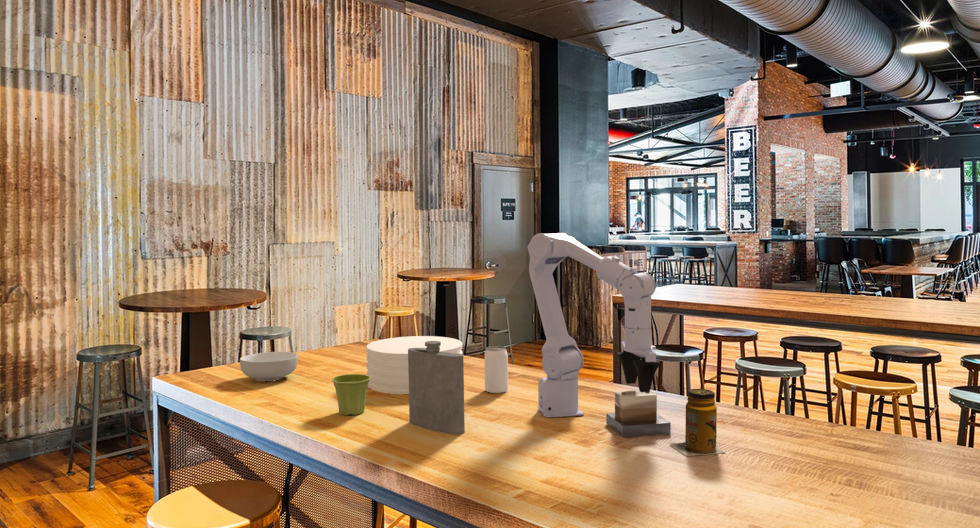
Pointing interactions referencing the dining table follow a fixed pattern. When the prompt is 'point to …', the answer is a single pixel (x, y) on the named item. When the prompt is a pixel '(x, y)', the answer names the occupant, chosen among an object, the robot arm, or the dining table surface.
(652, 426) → the stand
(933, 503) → the dining table surface
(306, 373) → the dining table surface
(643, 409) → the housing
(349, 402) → the plant pot
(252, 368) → the cereal bowl
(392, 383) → the plate stack
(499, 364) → the can
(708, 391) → the condiment
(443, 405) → the hip flask
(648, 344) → the robot arm
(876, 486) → the dining table surface
